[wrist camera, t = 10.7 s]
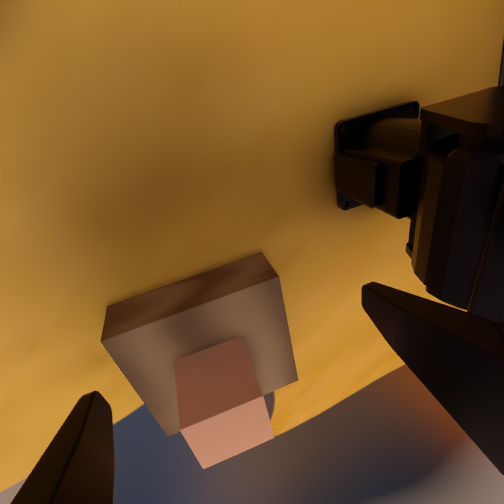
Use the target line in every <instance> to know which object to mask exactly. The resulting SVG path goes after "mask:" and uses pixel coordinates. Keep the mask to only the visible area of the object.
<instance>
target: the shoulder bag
mask: <svg viewBox="0 0 504 504" xmlns="http://www.w3.org/2000/svg"><path fill="white" fill-rule="evenodd" d="M500 86H504V53H503V60H502V69H501V77H500Z"/></svg>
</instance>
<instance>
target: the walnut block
mask: <svg viewBox="0 0 504 504" xmlns="http://www.w3.org/2000/svg"><path fill="white" fill-rule="evenodd" d="M239 336H241V338H242V341H243V344H244V346H245V349H246V352H247V354H248V357H249V360H250V362H251V365H252V368H253V370H254V373H255V375H256V378H257V381H258V383H259V386H260V389H261V391H262V394H263V395H265V394H267V393H270V392H272V391H275V390H277V389H279V388H281V387H284V386H286V385H288V384H291V383H293V382H295V381H298V377H297V371H296V366H295V360H294V355H293V350H292V344H291V339H290V333H289V328H288V323H287V317H286V312H285V306H284V301H283V296H282V290H281V285H280V280H279V276H278V274H277V273H276V272H275V270H274V269H273V267H272V266H271V265H270V263H269V262H268V261H267V259H266V258H265V256H264V255H263V254H262V253H260V254H257V255H254V256H251V257H248V258H245V259H242V260H239V261H237V262H234V263H231V264H228V265H225V266H222V267H219V268H217V269H214V270H211V271H208V272H205V273H202V274H199V275H196V276H194V277H191V278H188V279H185V280H182V281H179V282H176V283H173V284H171V285H168V286H165V287H162V288H159V289H156V290H153V291H151V292H148V293H145V294H142V295H139V296H136V297H133V298H130V299H128V300H125V301H122V302H119V303H116V304H113V305H110V306H107V311H106V316H105V321H104V326H103V331H102V336H101V343H102V344H103V346H104V347H105V349H106V350H107V351H108V353H109V354H110V356H111V357H112V358H113V360H114V361H115V363H116V364H117V365H118V367H119V368H120V370H121V371H122V372H123V374H124V375H125V377H126V378H127V379H128V381H129V382H130V384H131V385H132V386H133V388H134V389H135V391H136V392H137V393H138V395H139V396H140V398H141V399H142V401H143V402H144V403H145V405H146V406H147V407H148V409H149V410H150V412H151V413H152V414H153V416H154V417H155V419H156V420H157V422H158V423H159V424H160V426H161V427H162V429H163V430H164V431H165V433H166V434H167V435H168V436H171V435H173V434H175V433H178V432H180V423H179V413H178V402H177V391H176V380H175V369H174V361H175V360H177V359H180V358H183V357H185V356H188V355H191V354H193V353H196V352H199V351H201V350H204V349H207V348H210V347H212V346H215V345H218V344H220V343H223V342H226V341H228V340H231V339H234V338H236V337H239Z"/></svg>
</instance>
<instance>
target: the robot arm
mask: <svg viewBox="0 0 504 504" xmlns="http://www.w3.org/2000/svg"><path fill="white" fill-rule="evenodd" d="M411 107H412V110H411ZM419 108H420V107H419V103H418V102H417V101H409V102H405V103H402V104H398V105H395V106H391V107H388V108H384V109H381V110H377V111H373V112H370V113H366V114H363V115H359V116H356V117H352V118H348V119H345V120H341V121H339V122H338V123H337V124H336V126H335V150H336V155H335V157H334V160H335V184H336V190H337V200H338V207H339V208H340V209H342V210H348V209H351V208H354V207H357V206H360V205H363V204H364V205H366V206H368V207H370V208H377V209H379V210H381V211H383V212H385V213H387V214H389V215H391V216H393V217H395V218H397V219H401V218H404V217H406V218H408V219H411V223H410V232H409V241H408V243H407V244H406V253H407V254H408V255H409V256H410V258H411V259H412V262H411V264H412V267H413V270H414V273H415V275H416V276H417V277H418V278H419V279H420V280H421V281H422V283H423V284H424V285H426V291H427V292H428V293H429V294H431V295H433V296H434V297H436V298H438V299H439V300H441V301H443V302H445V303H448V304H450V305H452V306H455V307H457V308H461V309H464V310H467V312H465V311H462V310H459V309H456V308H453V307H450V306H447V305H444V304H441V303H438V302H435V301H432V300H429V299H425V298H422V297H419V296H416V295H413V294H410V293H407V292H404V291H401V290H398V289H395V288H392V287H389V286H386V285H383V284H380V283H377V282H370V283H368V284H365V285H363V286H362V306H363V308H364V310H365V312H366V313H367V314H368V316H369V317H370V319H371V320H372V321H373V323H374V324H375V326H376V327H377V329H378V330H379V331H380V333H381V334H382V336H383V337H384V338H385V340H386V341H387V342H388V344H389V345H390V346H391V348H392V349H393V350H394V351H395V352H396V353H397V355H398V356H399V357H400V358H401V359H402V360H403V361H404V363H405V364H406V365H407V366H408V367H409V368H410V369H411V371H412V372H413V373H414V374H415V375H416V376H417V377H418V379H419V380H420V381H421V382H422V383H423V384H424V385H425V386H426V388H427V389H428V390H429V391H430V392H431V393H432V395H433V396H434V397H435V398H436V399H437V400H438V401H439V403H440V404H441V405H442V406H443V407H444V408H445V410H447V412H448V413H449V414H450V415H451V416H452V417H453V419H454V420H455V421H456V422H457V423H458V424H459V426H461V428H462V429H463V430H464V431H465V432H466V434H467V435H468V436H469V437H470V438H471V439H472V440H473V441H474V443H475V444H476V445H477V446H478V447H479V448H480V450H482V452H483V453H484V454H485V455H486V456H487V458H488V459H489V460H490V461H491V462H492V463H493V464H494V465H495V467H496V468H497V469H498V470H499V471H500V473H501V474H502V475H504V86H497V87H491V88H488V89H484V90H481V91H477V92H474V93H471V94H467V95H464V96H460V97H457V98H453V99H450V100H446V101H443V102H439V103H436V104H432V105H429V106H425V107H422V108H421V111H420V119H418V117H419ZM410 110H411V111H410ZM342 126H344V127H345V128H344V131H343V132H342V131H341V128H342ZM344 202H346V204H345V205H344V206H343V204H344ZM114 462H115V461H114V441H113V422H112V410H111V407H110V405H109V403H108V402H107V401H106V400H105V399H104V397H103V396H102V395H101V394H100V393H99V392H98V391H93V392H90V393H88V394H85V395H83V396H82V397H81V398H80V399H79V400H78V402H77V403H76V405H75V407H74V408H73V410H72V411H71V413H70V414H69V416H68V417H67V419H66V420H65V422H64V423H63V425H62V426H61V428H60V429H59V431H58V432H57V434H56V435H55V437H54V438H53V440H52V441H51V443H50V444H49V446H48V447H47V449H46V450H45V452H44V453H43V455H42V456H41V458H40V460H39V461H38V463H37V464H36V466H35V467H34V469H33V470H32V472H31V473H30V475H29V476H28V478H27V479H26V481H25V482H24V484H23V485H22V487H21V488H20V490H19V491H18V493H17V494H16V496H15V497H14V499H13V501H12V502H11V504H113V489H114V470H115V469H114V468H115V465H114V464H115V463H114Z"/></svg>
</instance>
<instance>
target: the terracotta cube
mask: <svg viewBox="0 0 504 504" xmlns="http://www.w3.org/2000/svg"><path fill="white" fill-rule="evenodd" d="M174 369H175V380H176V391H177V402H178V413H179V423H180V431H181V433H182V434H183V436H184V438H185V439H186V441H187V442H188V444H189V446H190V448H191V449H192V451H193V452H194V454H195V456H196V458H197V459H198V461H199V463H200V464H201V466H202V468H203V469H205V468H207V467H210V466H212V465H214V464H216V463H218V462H221V461H223V460H225V459H228V458H230V457H232V456H234V455H236V454H239V453H241V452H243V451H245V450H248V449H250V448H252V447H254V446H257V445H259V444H261V443H263V442H265V441H268V440H270V439H272V438H274V435H273V431H272V427H271V423H270V420H269V416H268V413H267V408H266V404H265V401H264V397H263V394H262V391H261V389H260V386H259V383H258V381H257V378H256V375H255V373H254V370H253V368H252V365H251V362H250V360H249V357H248V354H247V352H246V349H245V346H244V344H243V341H242V338H241V336H239V337H236V338H234V339H231V340H228V341H226V342H223V343H220V344H218V345H215V346H212V347H210V348H207V349H204V350H201V351H199V352H196V353H193V354H191V355H188V356H185V357H183V358H180V359H177V360H175V361H174Z"/></svg>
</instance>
